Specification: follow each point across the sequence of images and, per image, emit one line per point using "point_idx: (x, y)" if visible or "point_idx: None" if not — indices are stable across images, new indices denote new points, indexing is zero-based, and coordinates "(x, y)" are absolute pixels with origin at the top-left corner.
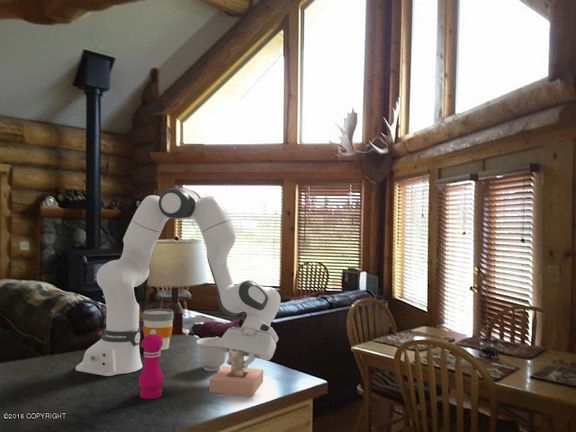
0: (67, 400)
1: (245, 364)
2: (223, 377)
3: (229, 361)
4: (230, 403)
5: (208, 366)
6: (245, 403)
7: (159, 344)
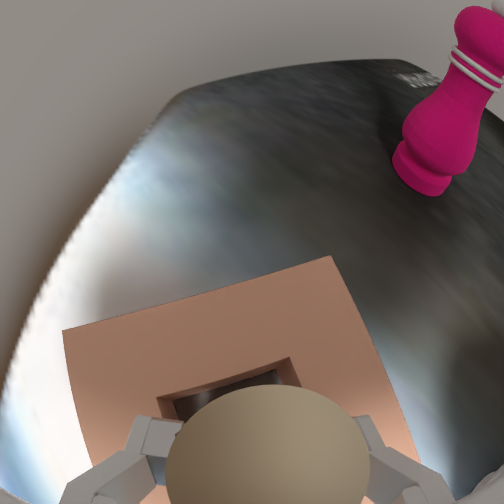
0: None
1: (132, 425)
2: (286, 328)
3: None
4: (146, 231)
5: (497, 470)
6: (91, 260)
7: (462, 22)
